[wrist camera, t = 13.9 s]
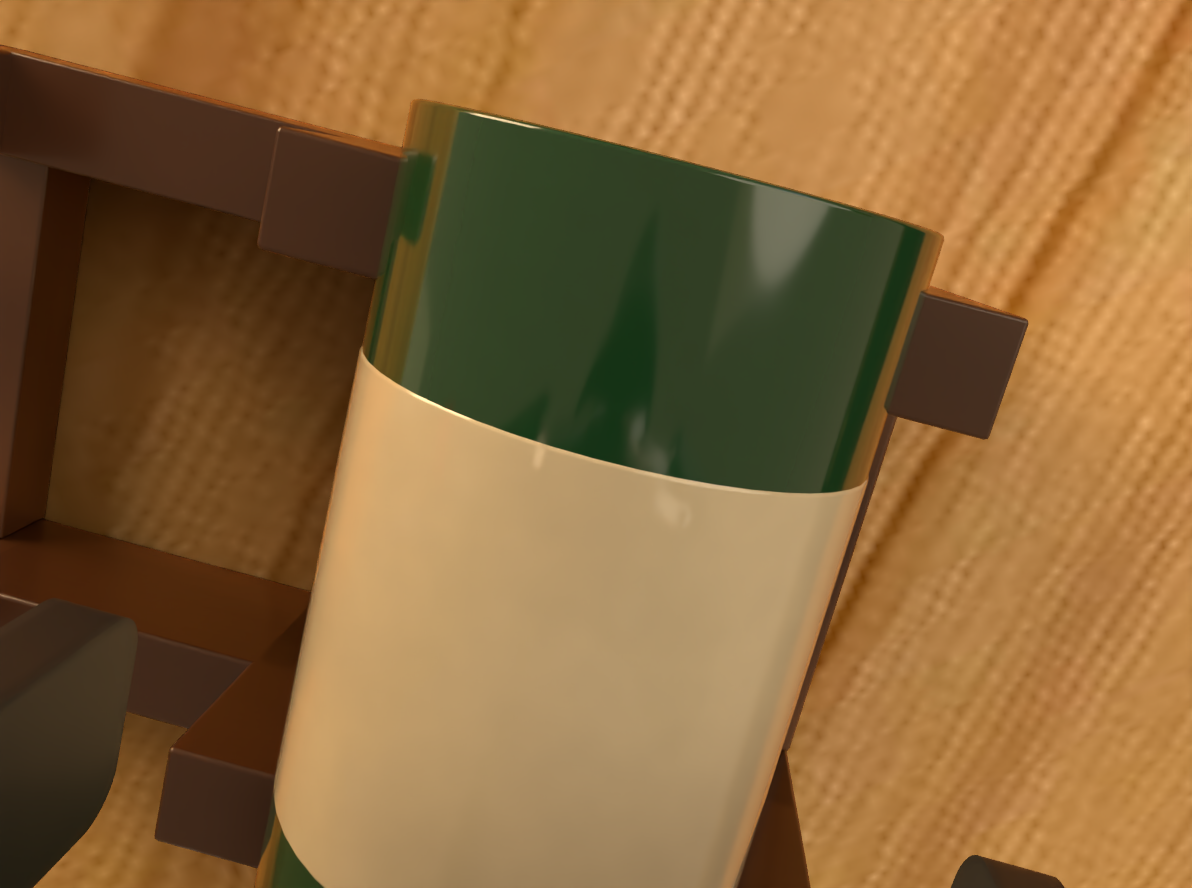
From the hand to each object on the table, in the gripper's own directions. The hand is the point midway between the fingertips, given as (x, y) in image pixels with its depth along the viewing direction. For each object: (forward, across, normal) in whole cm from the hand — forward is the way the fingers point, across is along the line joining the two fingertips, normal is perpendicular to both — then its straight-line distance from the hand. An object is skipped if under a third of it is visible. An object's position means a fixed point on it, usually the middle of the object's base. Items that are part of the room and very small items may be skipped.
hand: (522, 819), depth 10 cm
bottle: (+7, 0, +3) cm, 7 cm away
